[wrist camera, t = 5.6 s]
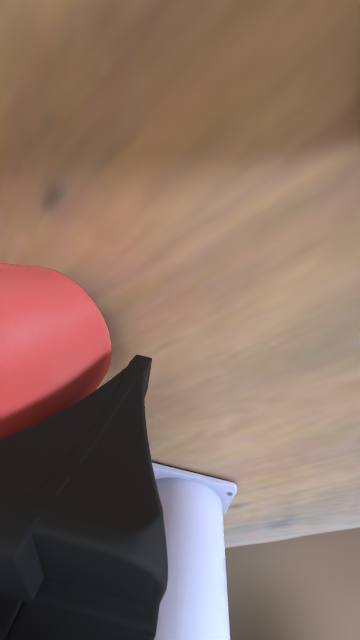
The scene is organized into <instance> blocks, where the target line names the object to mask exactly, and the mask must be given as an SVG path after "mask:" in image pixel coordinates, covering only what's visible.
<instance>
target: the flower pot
mask: <svg viewBox="0 0 360 640" xmlns="http://www.w3.org/2000/svg"><path fill="white" fill-rule="evenodd" d="M111 353H112V350H111V341H110V336H109V332H108V329H107V326H106V323H105V321H104V319H103V317H102V315H101V313H100V311H99V310H98V308H97V307H96V305H95V303H94V302H93V301H92V299H91V298H90V297H89V296H88V295H87V293H86V292H85V291H84V290H83V289H82V288H81V287H80V286H79V285H77V284H76V283H75V282H74V281H72V280H71V279H69V278H68V277H67V276H65V275H63V274H61V273H59V272H57V271H54V270H51V269H48V268H43V267H35V266H23V265H14V264H4V263H0V440H1V439H3V438H5V437H8V436H10V435H12V434H15V433H17V432H19V431H21V430H24V429H26V428H28V427H30V426H32V425H35V424H37V423H39V422H41V421H43V420H45V419H47V418H49V417H51V416H53V415H55V414H57V413H59V412H61V411H62V410H64V409H66V408H68V407H70V406H72V405H73V404H75V403H77V402H78V401H80V400H82V399H83V398H85V397H86V396H88V395H90V394H91V393H93V392H94V391H95V390H96V388H97V387H98V385H99V384H100V382H101V381H102V379H103V378H104V376H105V375H106V373H107V371H108V368H109V365H110V359H111Z"/></svg>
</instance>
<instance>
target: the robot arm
mask: <svg viewBox="0 0 360 640" xmlns="http://www.w3.org/2000/svg"><path fill="white" fill-rule="evenodd" d="M151 362H152V358H149V357H145V356H141V355H136V356H135V357H134V358H133V359H132V360H131V361H130V363H129V365H128V366H127V367H126V368H125V369H124V370H123V371H121V372H120V373H119V374H117V375H116V376H115V377H114V378H112V379H111V380H110V381H108V382H107V383H106V384H104V385H103V386H101V387H100V388H98V389H97V390H96V391H94V392H93V393H91V394H90V395H88V396H86V397H85V398H83V399H82V400H80V401H78V402H77V403H75V404H73V405H72V406H70V407H68V408H66V409H64V410H62V411H61V412H59V413H57V414H55V415H53V416H51V417H49V418H47V419H45V420H43V421H41V422H39V423H37V424H35V425H32V426H30V427H28V428H26V429H24V430H21V431H19V432H17V433H15V434H12V435H10V436H8V437H5V438H3V439H1V440H0V640H230V631H229V614H228V597H227V580H226V563H225V546H224V529H223V516H224V514H225V512H226V510H227V508H228V507H229V505H230V503H231V501H232V499H233V497H234V496H235V494H236V492H237V486H236V484H235V483H233V482H229V481H225V480H221V479H217V478H213V477H209V476H205V475H201V474H197V473H193V472H189V471H185V470H181V469H176V468H172V467H168V466H164V465H160V464H156V463H152V461H151V455H150V449H149V443H148V437H147V429H146V420H145V406H144V398H145V395H146V392H147V388H148V382H149V375H150V369H151Z"/></svg>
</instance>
